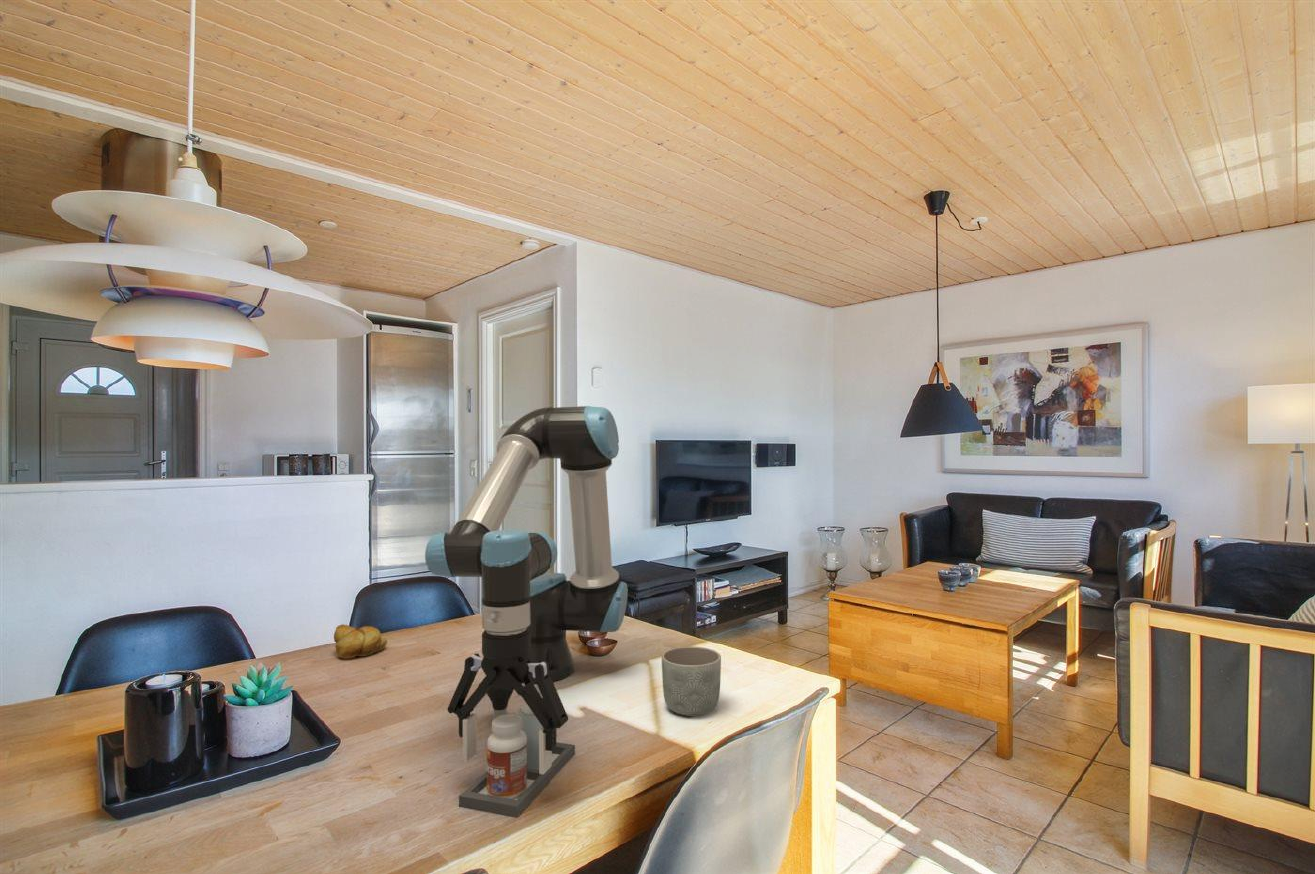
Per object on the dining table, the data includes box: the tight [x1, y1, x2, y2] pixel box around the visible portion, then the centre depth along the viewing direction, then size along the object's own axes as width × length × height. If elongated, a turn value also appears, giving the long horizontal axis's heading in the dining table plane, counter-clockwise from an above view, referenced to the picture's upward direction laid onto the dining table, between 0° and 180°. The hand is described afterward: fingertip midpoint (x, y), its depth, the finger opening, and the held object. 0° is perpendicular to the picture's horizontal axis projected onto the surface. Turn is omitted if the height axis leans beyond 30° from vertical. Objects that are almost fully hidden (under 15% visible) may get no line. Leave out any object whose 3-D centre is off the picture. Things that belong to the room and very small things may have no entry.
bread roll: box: [333, 623, 388, 660], centre depth 167 cm, size 13×10×8 cm
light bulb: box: [486, 686, 514, 719], centre depth 126 cm, size 6×6×10 cm
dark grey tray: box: [458, 741, 576, 818], centre depth 104 cm, size 10×20×2 cm, turn 163°
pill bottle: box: [486, 713, 527, 799], centre depth 100 cm, size 6×6×11 cm
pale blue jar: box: [517, 701, 543, 769], centre depth 108 cm, size 6×6×10 cm
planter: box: [661, 645, 722, 717], centre depth 131 cm, size 12×12×11 cm
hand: (506, 763), depth 100 cm, fingers open, 13 cm apart
